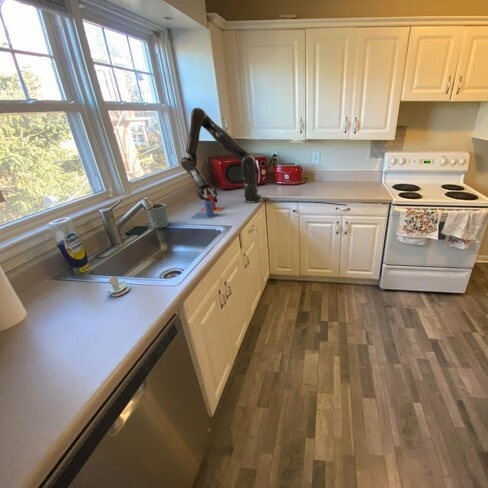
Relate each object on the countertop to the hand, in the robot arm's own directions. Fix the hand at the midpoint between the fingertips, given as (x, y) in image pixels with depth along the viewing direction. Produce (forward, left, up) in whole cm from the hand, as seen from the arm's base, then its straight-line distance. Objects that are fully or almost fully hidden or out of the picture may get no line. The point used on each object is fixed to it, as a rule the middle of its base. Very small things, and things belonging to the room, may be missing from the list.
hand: (213, 202), depth 188 cm
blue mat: (+1, +12, -5) cm, 13 cm away
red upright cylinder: (+2, -1, -5) cm, 5 cm away
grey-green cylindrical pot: (+20, +31, -6) cm, 37 cm away
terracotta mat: (+1, -1, -5) cm, 6 cm away
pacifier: (-2, +97, -6) cm, 97 cm away
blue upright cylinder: (-2, +12, -5) cm, 13 cm away
